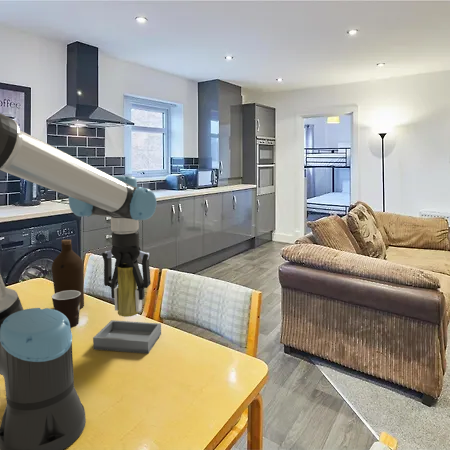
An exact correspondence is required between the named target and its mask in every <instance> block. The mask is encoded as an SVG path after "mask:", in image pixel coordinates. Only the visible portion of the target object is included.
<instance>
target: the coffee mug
mask: <svg viewBox="0 0 450 450" xmlns="http://www.w3.org/2000/svg"><path fill="white" fill-rule="evenodd" d="M80 297H81V293H80V292H79V291H74V290H68V291H61V292H58V293H55V292H54V293H53V294H52V295H51V300H52V306H53V309H54V310H57V311H59V312H61V313H63V314H64V315H65V316H66V317H67V318H68V320H69V323H70V328H74V327H76V326H78V325H79V323H80V322H79V321H80V310H81V309H80Z"/></svg>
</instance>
